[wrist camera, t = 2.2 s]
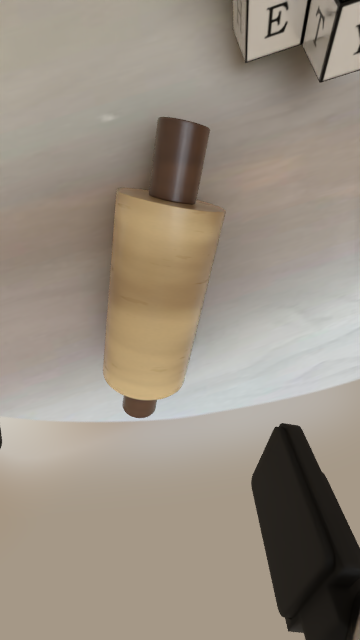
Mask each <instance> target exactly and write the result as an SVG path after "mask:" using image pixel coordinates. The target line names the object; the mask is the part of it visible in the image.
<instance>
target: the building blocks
mask: <svg viewBox="0 0 360 640" xmlns="http://www.w3.org/2000/svg"><path fill="white" fill-rule="evenodd" d="M233 31H234V33H235V36H236V39H237V41H238V44H239V47H240V50H241V52H242V55H243V58H244V61H245V63H247V62H250V61H253V60H256V59H259V58H262V57H265V56H268V55H271V54H274V53H277V52H280V51H283V50H286V49H289V48H292V47H295V46H298V45H301V44H302V46H303V48H304V50H305V53H306V55H307V57H308V59H309V61H310V63H311V65H312V67H313V70H314V72H315V74H316V76H317V78H318V80H319V82H324V81H327V80H330V79H333V78H336V77H339V76H343V75H346V74H349V73H352V72H355V71H359V70H360V0H233Z"/></svg>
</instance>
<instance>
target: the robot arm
mask: <svg viewBox="0 0 360 640" xmlns="http://www.w3.org/2000/svg"><path fill="white" fill-rule="evenodd" d="M1 445H2V437H1V429H0V448H1ZM251 484H252V491H253V496H254V500H255V505H256V509H257V514H258V518H259V523H260V528H261V533H262V537H263V541H264V546H265V551H266V556H267V560H268V565H269V569H270V574H271V579H272V583H273V588H274V592H275V597H276V602H277V606H278V610H279V612H280V614H281V616H282V617H285V619H286V624H287V628H288V631H291V632H301V633H304V635H305V639H306V640H360V548H359V546H358V544H357V542H356V540H355V537H354V535H353V533H352V531H351V529H350V527H349V525H348V523H347V520H346V519H345V516H344V514H343V512H342V510H341V508H340V506H339V504H338V502H337V499H336V497H335V495H334V493H333V491H332V489H331V487H330V484H329V482H328V480H327V478H326V477H325V475H324V474H323V473H322V472H321V469H320V467H319V465H318V463H317V461H316V459H315V457H314V454H313V452H312V450H311V448H310V446H309V444H308V441H307V440H306V437H305V435H304V433H303V431H302V429H301V427H300V426H297V425H291V424H284V423H282V424H280V426H279V427H275V428H274V430H273V432H272V434H271V436H270V439H269V441H268V443H267V445H266V447H265V450H264V452H263V454H262V456H261V458H260V460H259V463H258V465H257V467H256V469H255V471H254V473H253V476H252V482H251Z"/></svg>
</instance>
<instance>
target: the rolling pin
mask: <svg viewBox="0 0 360 640" xmlns="http://www.w3.org/2000/svg"><path fill="white" fill-rule="evenodd" d="M209 133H210V129H209V128H208V127H206V126H203V125H200V124H197V123H194V122H190V121H186V120H182V119H177V118H170V117H160V118H158V124H157V132H156V140H155V148H154V156H153V164H152V172H151V181H150V189H149V190H142V189H133V188H118V189H117V191H116V204H115V217H114V231H113V244H112V257H111V270H110V284H109V297H108V310H107V324H106V337H105V350H104V363H103V375H104V378H105V380H106V382H107V383H108V384H109V385H110V386H111V387H112V388H113V389H114V390H115V391H117V392H119V393H120V394H122V395H124V398H123V409H124V411H125V412H126V413H127V414H128V415H130V416H132V417H135V418H145V417H148V416H150V415H151V414H152V413H153V412H154V410H155V407H156V402H157V400H158V399H163V398H166V397H168V396H171V395H173V394H174V393H176V392H177V391H178V390H179V389H180V388H181V386H182V385H183V383H184V379H185V375H186V371H187V367H188V363H189V359H190V355H191V351H192V347H193V343H194V339H195V334H196V330H197V326H198V322H199V318H200V314H201V310H202V306H203V302H204V298H205V294H206V290H207V286H208V281H209V277H210V273H211V269H212V265H213V261H214V257H215V253H216V249H217V245H218V241H219V237H220V233H221V229H222V224H223V220H224V216H225V212H226V211H225V210H224V209H223V208H221V207H218V206H215V205H213V204H209V203H206V202H202V201H199V200H196V199H197V194H198V189H199V184H200V179H201V174H202V169H203V163H204V158H205V153H206V148H207V143H208V138H209Z"/></svg>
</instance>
